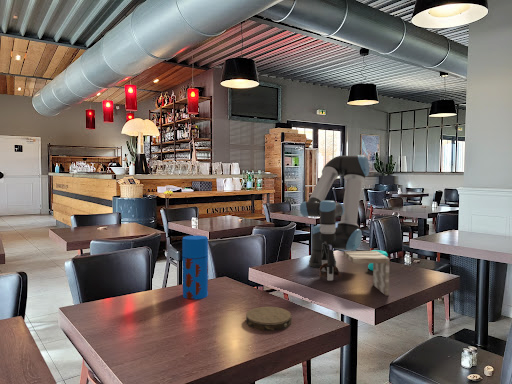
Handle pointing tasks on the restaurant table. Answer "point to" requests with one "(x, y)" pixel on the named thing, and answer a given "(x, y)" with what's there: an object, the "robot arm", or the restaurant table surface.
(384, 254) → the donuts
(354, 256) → the counter
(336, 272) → the brown arched shell
